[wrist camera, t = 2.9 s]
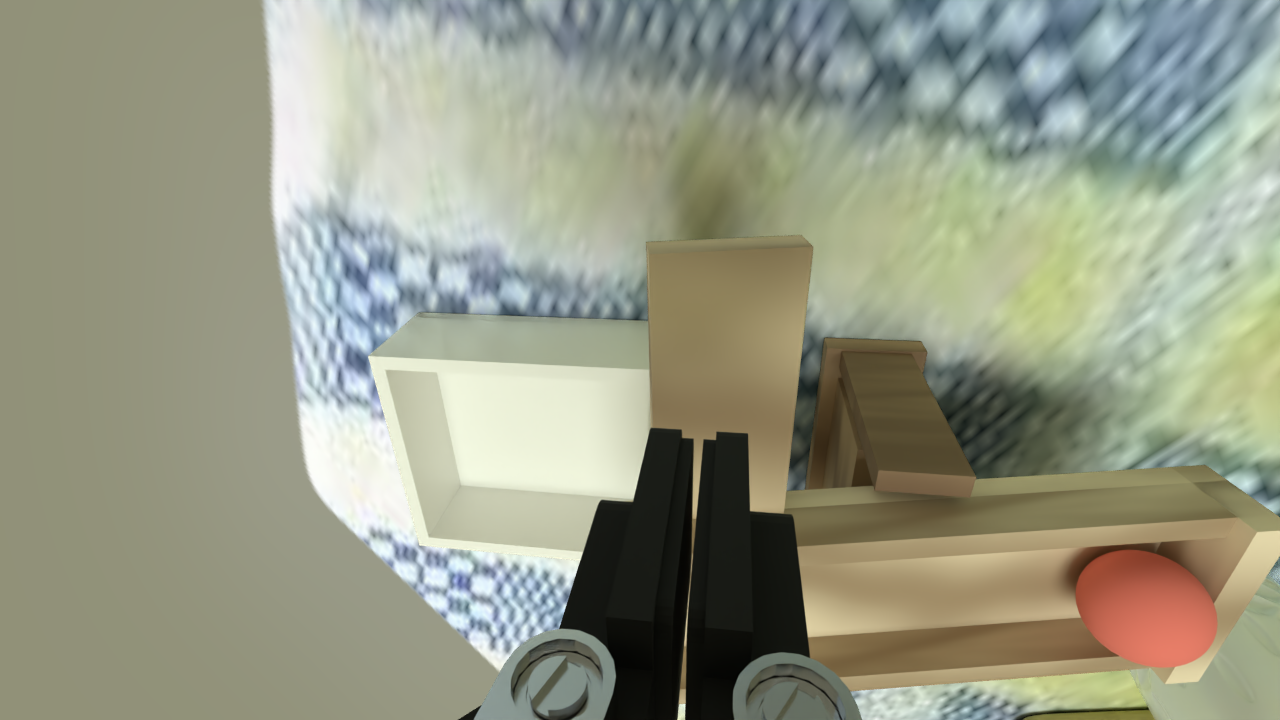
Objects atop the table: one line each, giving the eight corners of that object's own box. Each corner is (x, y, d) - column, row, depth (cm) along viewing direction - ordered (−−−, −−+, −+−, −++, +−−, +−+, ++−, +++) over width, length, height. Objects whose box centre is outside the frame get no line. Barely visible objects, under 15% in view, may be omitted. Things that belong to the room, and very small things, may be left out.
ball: (1070, 527, 20) (1146, 616, 17) (1177, 526, 20) (1273, 615, 17) (1040, 599, 22) (1104, 692, 19) (1139, 599, 22) (1219, 692, 19)
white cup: (1085, 646, 33) (1209, 869, 24) (1073, 540, 30) (1212, 752, 21) (1264, 628, 30) (1474, 868, 22) (1272, 510, 27) (1522, 736, 18)
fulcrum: (824, 337, 26) (858, 466, 19) (921, 341, 26) (998, 475, 18) (802, 506, 31) (822, 667, 23) (884, 512, 30) (933, 679, 23)
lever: (588, 229, 17) (585, 287, 13) (1286, 198, 17) (1481, 244, 14) (615, 617, 24) (618, 728, 20) (1104, 583, 25) (1197, 683, 21)
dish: (418, 312, 29) (368, 356, 25) (673, 321, 27) (661, 370, 23) (456, 486, 34) (419, 545, 30) (674, 503, 32) (664, 568, 28)
